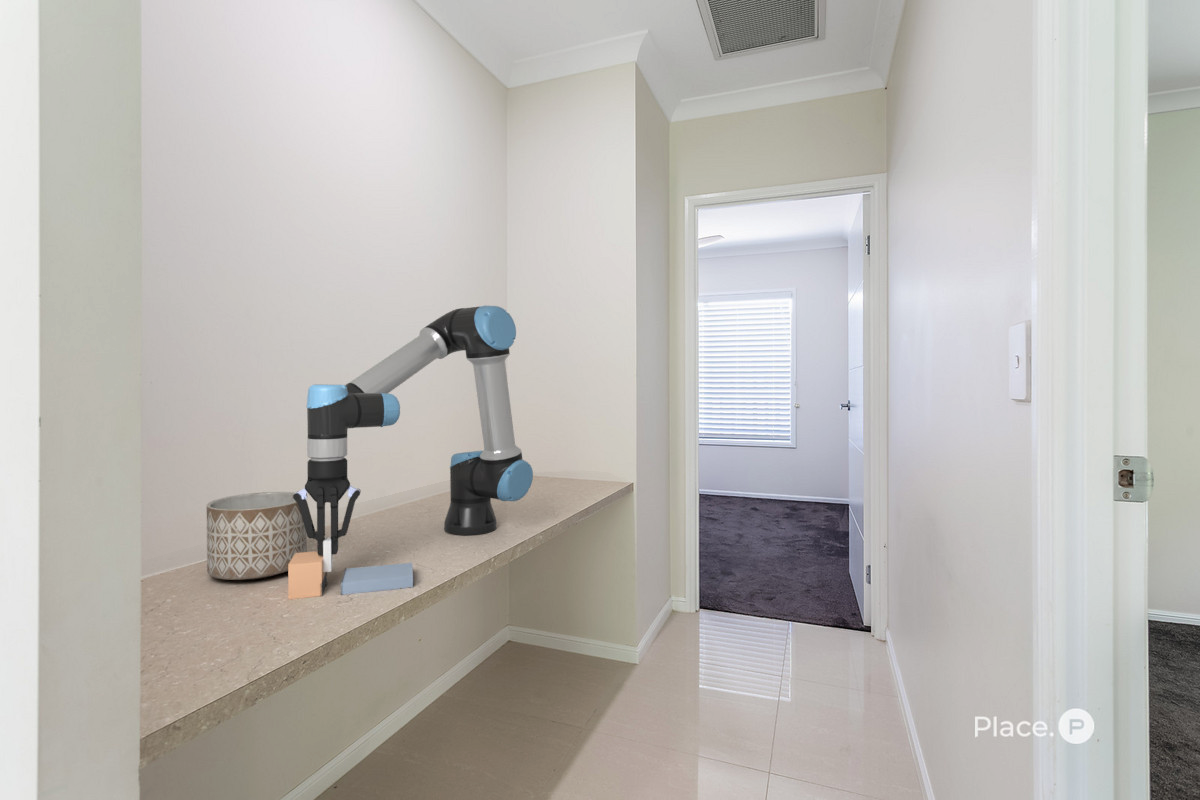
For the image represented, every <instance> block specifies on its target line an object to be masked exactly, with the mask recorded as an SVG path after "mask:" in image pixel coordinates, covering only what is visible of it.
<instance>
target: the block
mask: <svg viewBox="0 0 1200 800" xmlns="http://www.w3.org/2000/svg"><path fill="white" fill-rule="evenodd" d="M287 572H288V573H287V574H288V575H287V577H288V582H287V584H288V591H287V592H288V594H287V595H288V600H293V599H294V600H295V599H305V598H315V597H322V596H323V594H324V591H325V589H326V585H327V582H328V581H327V580H328V578H327V577H328V576H327V575H328V574H327V573H328V572H323V555H321V556H318V553H317V550H316V551H307V552H302V553H295V555H294V556H293V558H292V560H291V561H290V563H289V564H288V571H287Z"/></svg>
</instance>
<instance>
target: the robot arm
mask: <svg viewBox="0 0 1200 800" xmlns="http://www.w3.org/2000/svg"><path fill="white" fill-rule="evenodd" d="M516 338H517V327H516V324H515V321H514V319H513V317H512V315H511V314H510V313H509V312H508V311H507V310H506V309H504V308H503V307H501V306H497V305H486V304H484V305H481V306H480V305H479V306H473V307H463V308H456V309H452V310H451V311H449V312H447V313H445V314H443V315H441V316H439V317H438V318H437V319H435V320H434V321H432V322H430V323H429V324H428V325H426V326H425V327H423V328H422V329H420V330H419V334H418V336H417V337H415V338H413V339H412V340H411V341H409V342H407V344H405V345H403V346H401V348H399V349H397V350H396V351H394V352H392V353H391V354H390V355H389V356H387V357H385V358H384V359H382V360H381V361H379V362H378V363H377V364H374V366H372V367H370V368H369V369H367V370H366V371H365V372H363V373H361V374H359V376H357V377H355V378H354V379H352V380H351V381H349V382H348V383H346V384H321V383H320V384H316V383H315V384H312V385H310V386H309V387H308V389H307V390H308V391H307V399H306V410H307V411H306V412H307V421H306V422H307V438H306V439H307V441H306V442H307V455H306V456H307V458H310V459H308V460H307V478H306V479H307V480H306V483H305V485H304V488H302V489H301V490H299V491H295V492H294V493H295V494H294V495H293V498H294V500H295V501H296V502H297V503H298V505H299V508H300V512H301V515H302V519H303V522H304V526H305V529H306V537H307V538H308V539H313V540H315V541H316V542H317V544H316V546H317V550H316V551H317V553H318V556H321V555H323V572H327V573H330V572H332V570H333V564H334V563H333V555H337V553H338V551H339V539H340V538H341V537H345V536H347V533H348V530H349V526H350V523H351V519H352V515H353V511H354V507H355V503H356V500H357V499H359V496H360V495H361V493H362V491H361V489H360V488H356V487H354V486H352V485H351V482H350V481H349V479H348V459H347V458H346V457H347V456H348V430H349V429H357V428H358V429H359V428H361V429H362V428H379V427H380V428H383V427H388V426H393V425H395V424H396V423H397V422H398V421H399V418H400V415H401V404H400V401H399V400H398V397H397V396H395V395H394V394H392V393H391V392H393V391H394V390H395V389H396V388H397V387H400V385H403V383H404V382H406V381H407V380H408V379H411V378H412V377H413V376H415V375H416V374H417V373H419V372H420V371H421V370H423V369H425V368H426V367H427V366H429V365H430V364H431V363H432V362H434V361H436V360H438V359H439V360H442V359H444V358H446V357H447V356H449V355H450V354H453V353H456V352H462V351H465V357H466V360H467V361H469V362H470V364H472V366H473V373H474V381H475V389H476V397H477V403H478V404H477V405H478V411H479V419H480V425H481V434H482V435H481V436H482V440H483V450H475V451H474V450H473V451H465V452H457V453H454V454H453V455H452V456H451V457H450V466H449V470H450V471H449V474H450V477H449V478H450V481H449V482H450V483H449V484H450V486H449V487H450V490H449V491H450V502H449V503H450V504H449V507H448V509H447V510H448V511H447V514H446V516H445V519H444V523H443V524H444V525H443V529H444V532H445V533H448V534H452V535H456V536H457V535H458V536H476V535H483V534H487V533H490V532H493V531H495V530H496V529H497V519H496V518H497V517H496V515H495V511H494V509H493V506H492V503H491V501H492V499H494V500H500V501H501V502H517V501H519V500H521V499H522V498H524V497H525V496H526V495H527V494H528V492H529V489H530V488H531V486H532V483H533V478H534V477H533V476H534V472H533V468H532V465H531V464H529V462H528V461H526V460H524V459H523V454H522V452H523V451H522V449H521V448H520V447H518V446H517V445H516V440H515V432H514V423H513V416H512V415H513V414H512V408H511V401H510V400H511V399H510V391H509V383H508V373H507V367H506V360H507V359H508V358H509V356H510V348H511V347H512V346H513V344H514V343H515V340H516ZM347 491H348V492H347ZM307 493H308V494H307ZM346 493H347V497H348V498H349V500H348V502H347V505H346V511H345V512H344V518H343V521H342V525H341V529H339V501H340V500H341V499H342V498H343V496H344V495H345V494H346ZM308 495H309V496H310V497H311V498H312V500H313V501H314V502H315V503H316V528H315V525H314V522H313V518H312V515H311V510H310V507H309V504H308V501H307V498H308ZM326 503H330V504H329V505H330V537H326Z"/></svg>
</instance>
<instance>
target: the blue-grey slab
mask: <svg viewBox="0 0 1200 800" xmlns="http://www.w3.org/2000/svg"><path fill="white" fill-rule="evenodd" d="M342 574H343V575H342V577H341V580H340V595H341V596H342V595H352V594H363V593H371V592H380V591H388V590H389V591H392V590H400V588H402V589H408V588H407V587H411V588H413V587H414V585H413V584H414V573H413V562H405V563H395V564H394V563H393V564H383V565H372V566H362V567H349V568H346V567H345V568H344V571H343V573H342Z"/></svg>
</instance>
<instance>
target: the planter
mask: <svg viewBox="0 0 1200 800" xmlns="http://www.w3.org/2000/svg"><path fill="white" fill-rule="evenodd" d="M295 493H296V492H294V491H293V492H291V491H268V492H267V491H266V492H264V491H263V492H252V493H243V494H236V495H230V496H226V497H221V498H217V499H214V500H212V501H210V502H208V503H207V504H206V568H207V569H206V570H207V574H208V575H209V576H210V577H212V578H215V579H219V580H228V581H229V580H231V581H232V580H233V581H250V580H252V581H253V580H262V579H266V578H270V577H274V576H277V575H279V574H283V573H287V572H288V564H289V563H290V561H291V560H292V558H293V556H294V555H295V553H302V552H308V550H307V548H308V547H307V544H308V543H307V538H308V537H307V533H306V529H305V526H304V522H303V519H302V515H301V512H300V508H299V505H298V503H297V502H296V501H295V500H294V498H293V495H294V494H295Z"/></svg>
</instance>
